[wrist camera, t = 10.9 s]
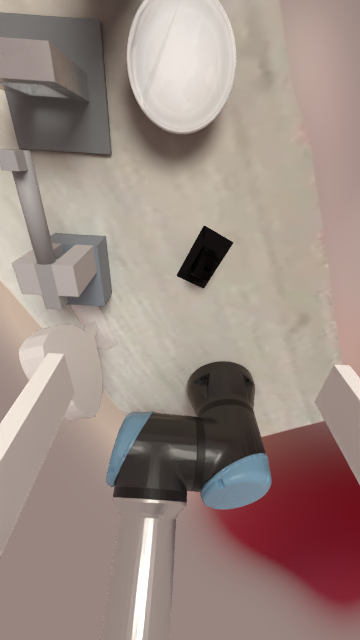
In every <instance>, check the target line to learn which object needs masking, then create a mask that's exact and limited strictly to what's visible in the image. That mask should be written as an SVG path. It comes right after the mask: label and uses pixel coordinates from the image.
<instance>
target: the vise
mask: <svg viewBox="0 0 360 640" xmlns="http://www.w3.org/2000/svg"><path fill="white" fill-rule="evenodd" d="M0 167H1V170H6V171H12V173H13V177H14V181H15V184H16V188H17V192H18V195H19V199H20V203H21V206H22V210H23V214H24V217H25V221H26V225H27V228H28V232H29V235H30V239H31V243H32V246H33V250H32V251H30V252H28V253H27V254H25V255H24V256H22V257H21V258H19V259H17V260H16V261H14V262H13V263H12V265H13V268H14V271H15V274H16V277H17V280H18V284H19V287H20V290H21V293H22V294H32V295H42V296H43V299H44V303H45V306H46V309H61V310H62V309H63V308H64V306H65V305H66V304H70V305H91V306H105V305H106V303H107V301H108V299H109V297H110V295H111V293H112V289H111V279H110V270H109V261H108V252H107V243H106V236H93V235H75V234H57V233H55V234H53V235H52V236H50V234H49V230H48V226H47V221H46V217H45V213H44V208H43V204H42V200H41V195H40V191H39V187H38V182H37V178H36V174H35V169H34V165H33V160H32V156H31V152H30V151H29V150H13V149H0Z"/></svg>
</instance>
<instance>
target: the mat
mask: <svg viewBox="0 0 360 640" xmlns="http://www.w3.org/2000/svg"><path fill="white" fill-rule="evenodd" d="M0 37H5V38H19V39H32V40H46V41H49V42H51V43H52V44H53V45H54V46H55V47H56V48H58V49H59V50H60V51H61V52H62V53H63V54H65V55H66V56H67V57H68V58H69V59H70V60H72V61H73V62H74V63H75V64H76V65H77V66H79V67H80V68H81V69H82V70H83V71H84V72H86V73H87V80H88V89H89V98H90V102H85V101H70V100H55V99H41V98H26V97H21V96H18V95H16V94H13V93H10V92H7V91H5V93H6V97H7V101H8V105H9V109H10V113H11V117H12V121H13V125H14V129H15V133H16V137H17V141H18V145H19V149H34V150H50V151H66V152H82V153H98V154H112V152H111V140H110V128H109V116H108V103H107V91H106V79H105V67H104V54H103V42H102V30H101V22H100V20H94V19H81V18H67V17H54V16H41V15H28V14H14V13H1V12H0Z"/></svg>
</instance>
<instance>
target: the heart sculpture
mask: <svg viewBox="0 0 360 640" xmlns="http://www.w3.org/2000/svg"><path fill="white" fill-rule="evenodd" d="M71 307H72V309H73V310H74V312H75V314H76V316H77V317H78V319H79V321H80V322H81V324H82V326H83V327H84V329H83V330H82V329H81V328H78V327H76V326H73V325H71V324H66V325H57V326H53V327H49V328H44V329H40V330H37V331H35V332H34V333H33V334H31V335H30V336H29V337H28V338H26V339H25V341H24V343H23V344H22V346H21V348H20V349H19V357H20V363H21V365H22V367H23V370H24V372H25V374H26V376H27V378H28V379H29V381H30V379H31V378H32V376H33V375H34V373H35V372H36V370H37V369H38V367H39V366H40V364H41V363H42V361H43V360H44V358H45V357H46V356H47V354H48V353H55V354H64V355H65V359H66V362H67V366H68V370H69V373H70V377H71V381H72V385H73V388H74V392H75V393H74V395H73V398H72V400H71V402H70V404H69V406H68V409H67V411H66V413H65V415H64V417H63V418H64V419H66V420H68V421H73V420H79V419H84V418H91V417H95V416H96V413H97V411H98V409H99V407H100V402H101V398H102V393H103V383H102V370H101V364H100V359H99V355H98V350H97V348H99V349H110V348H112V347H113V346H115V345H116V344H117V341H116V339H115V337H114V335H113V333H112V331H111V329H110V327H109V325H108V324H107V322H106V320H105V318H104V316H103V314H102V312H101V310H100V308H99V306H91V305H71Z"/></svg>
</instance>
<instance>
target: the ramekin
mask: <svg viewBox="0 0 360 640" xmlns="http://www.w3.org/2000/svg"><path fill="white" fill-rule="evenodd" d="M126 60H127V71H128V77H129V82H130V85H131V88H132V91H133V94H134V96H135V99H136V101H137V103H138V104H139V106H140V108H141V109H142V111H143V112H144V114H145V115H146V116H147V117H148V118H149V119H150V120H151V121H152V122H153V123H154V124H155V125H157V126H158V127H159V128H161V129H163V130H165V131H167V132H170V133H175V134H190V133H194V132H197V131H199V130H201V129H203V128H205V127H206V126H207V125H209V124H210V123H211V122H212V121H214V120H215V118H216V117H217V116H218V115H219V113H220V112H221V111H222V109H223V107H224V106H225V104H226V102H227V100H228V98H229V95H230V93H231V89H232V86H233V82H234V77H235V70H236V47H235V39H234V34H233V30H232V27H231V24H230V21H229V19H228V17H227V14H226V12H225V10H224V9H223V7H222V5H221V4H220V3H219V1H218V0H144V1H143V2H142V4H141V5H140V7H139V8H138V10H137V12H136V14H135V16H134V19H133V21H132V24H131V27H130V31H129V35H128V41H127V51H126Z"/></svg>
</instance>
